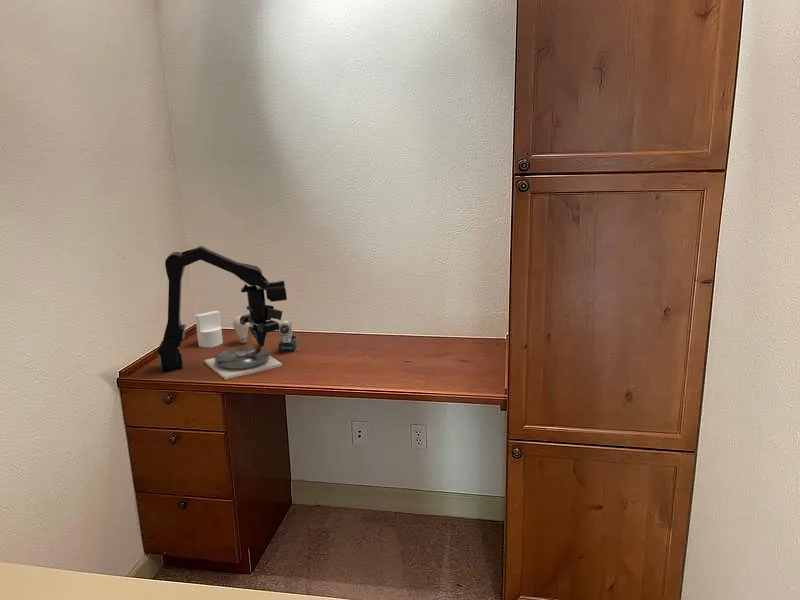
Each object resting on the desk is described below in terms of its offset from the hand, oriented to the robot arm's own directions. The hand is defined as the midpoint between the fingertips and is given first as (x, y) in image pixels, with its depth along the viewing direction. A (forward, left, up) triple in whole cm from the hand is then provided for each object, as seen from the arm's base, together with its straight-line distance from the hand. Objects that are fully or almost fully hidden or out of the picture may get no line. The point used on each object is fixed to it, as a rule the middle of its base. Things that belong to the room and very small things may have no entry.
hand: (261, 346), depth 211 cm
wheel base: (-7, +1, -5) cm, 9 cm away
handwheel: (-7, +1, -3) cm, 8 cm away
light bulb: (+2, +23, -5) cm, 23 cm away
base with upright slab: (-8, +31, -6) cm, 32 cm away
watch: (+12, +5, -5) cm, 14 cm away
